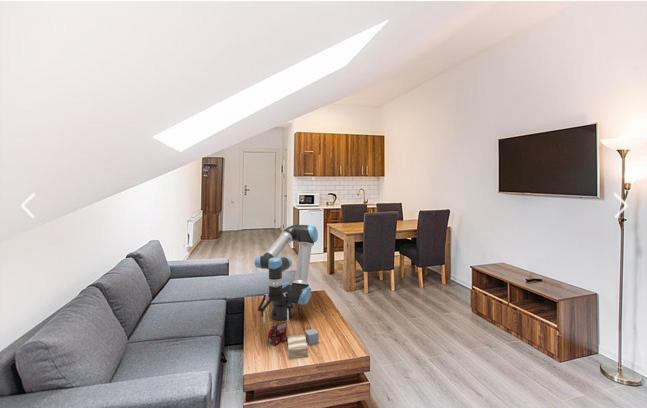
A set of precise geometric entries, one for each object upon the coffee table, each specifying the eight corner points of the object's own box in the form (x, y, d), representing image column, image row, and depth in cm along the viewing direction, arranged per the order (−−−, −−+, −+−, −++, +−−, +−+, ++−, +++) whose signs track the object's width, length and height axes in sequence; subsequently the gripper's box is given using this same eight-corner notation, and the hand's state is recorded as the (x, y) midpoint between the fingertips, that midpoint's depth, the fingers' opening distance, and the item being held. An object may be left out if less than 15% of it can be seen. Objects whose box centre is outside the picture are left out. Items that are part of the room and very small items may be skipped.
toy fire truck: (265, 342, 178) (264, 325, 177) (283, 335, 185) (283, 319, 184) (270, 347, 172) (270, 329, 172) (289, 340, 180) (289, 323, 179)
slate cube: (305, 340, 179) (305, 330, 179) (314, 338, 182) (314, 328, 181) (309, 345, 174) (308, 335, 174) (318, 342, 177) (318, 332, 176)
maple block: (287, 344, 176) (287, 335, 176) (304, 342, 178) (304, 334, 177) (288, 359, 161) (288, 350, 161) (307, 357, 163) (307, 348, 163)
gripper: (253, 288, 170) (253, 325, 171) (297, 285, 174) (298, 321, 176) (253, 284, 177) (254, 319, 179) (296, 281, 182) (297, 316, 183)
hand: (276, 321), depth 177 cm, fingers open, 13 cm apart
